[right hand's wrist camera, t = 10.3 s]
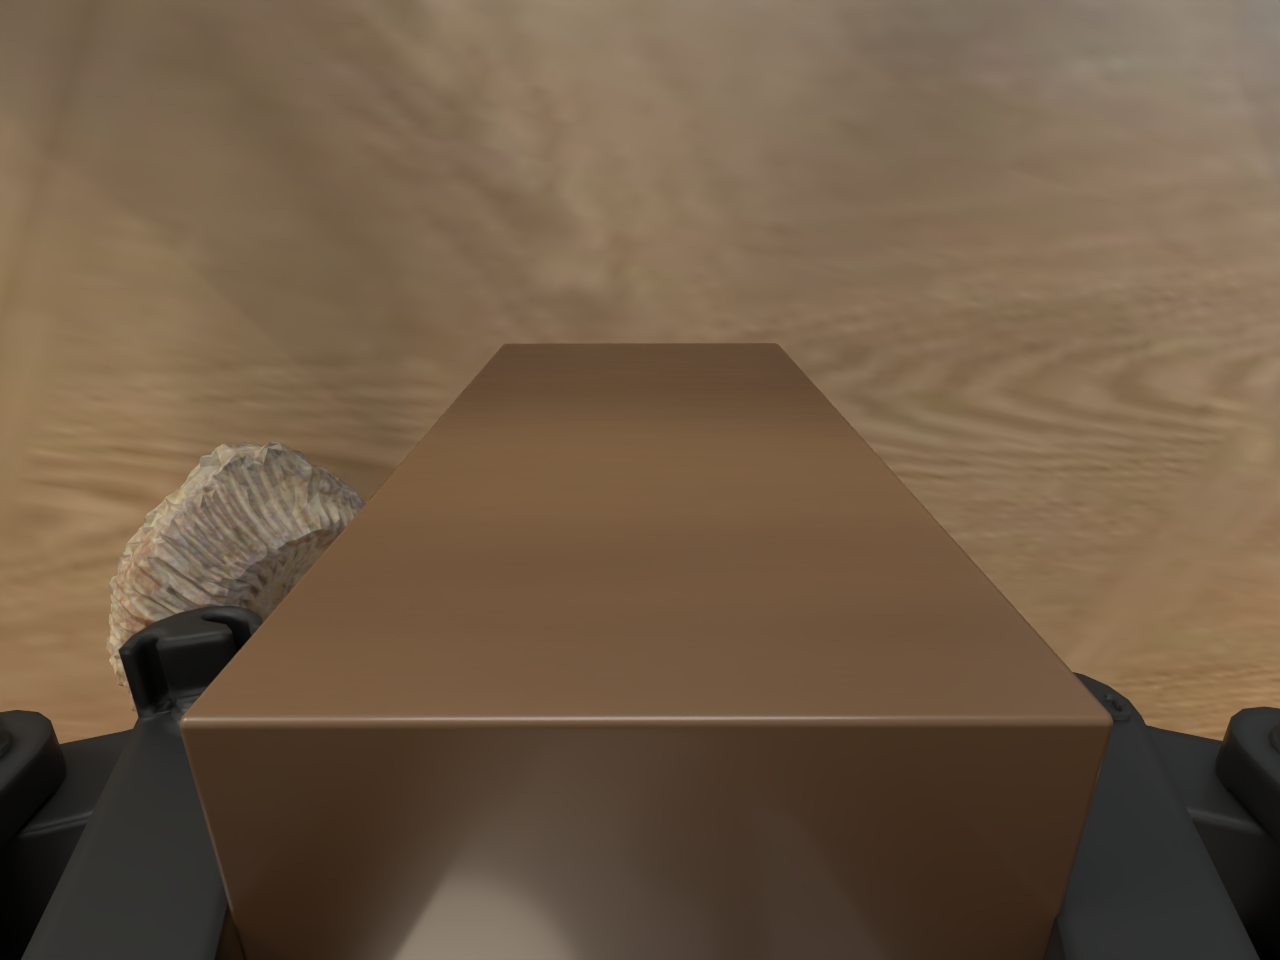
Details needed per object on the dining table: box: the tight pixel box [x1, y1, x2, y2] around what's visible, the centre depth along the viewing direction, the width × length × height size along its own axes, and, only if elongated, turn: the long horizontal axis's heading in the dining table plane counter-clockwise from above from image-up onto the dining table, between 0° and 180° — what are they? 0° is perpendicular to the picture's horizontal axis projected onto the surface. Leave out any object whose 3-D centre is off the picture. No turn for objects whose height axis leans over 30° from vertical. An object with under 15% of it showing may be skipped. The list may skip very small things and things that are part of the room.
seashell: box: [106, 441, 366, 711], centre depth 28 cm, size 14×10×10 cm
